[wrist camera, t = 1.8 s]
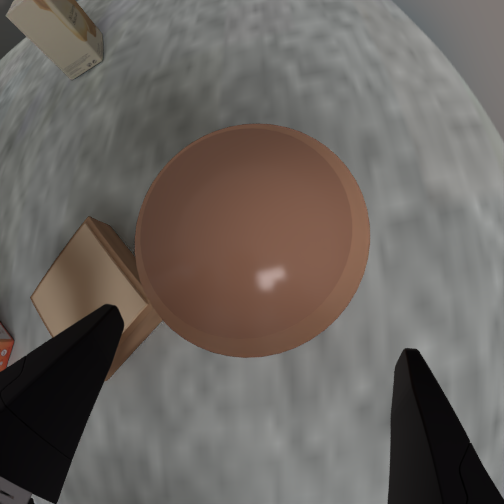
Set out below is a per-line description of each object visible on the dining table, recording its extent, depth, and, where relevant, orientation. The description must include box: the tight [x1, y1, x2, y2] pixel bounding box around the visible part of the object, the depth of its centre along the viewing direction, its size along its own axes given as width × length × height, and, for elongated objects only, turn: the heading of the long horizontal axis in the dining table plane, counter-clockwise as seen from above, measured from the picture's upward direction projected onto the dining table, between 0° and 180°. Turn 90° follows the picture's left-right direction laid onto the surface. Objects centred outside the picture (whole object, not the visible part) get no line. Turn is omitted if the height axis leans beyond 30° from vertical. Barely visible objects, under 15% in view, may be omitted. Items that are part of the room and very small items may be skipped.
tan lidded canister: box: [135, 124, 370, 358], centre depth 13 cm, size 6×6×13 cm
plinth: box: [30, 216, 162, 381], centre depth 20 cm, size 8×8×3 cm
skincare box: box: [6, 0, 103, 80], centre depth 21 cm, size 6×4×12 cm
